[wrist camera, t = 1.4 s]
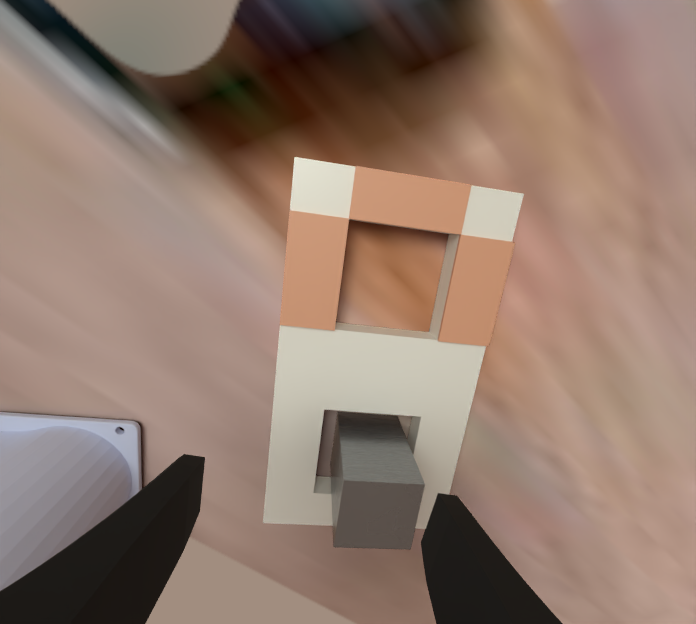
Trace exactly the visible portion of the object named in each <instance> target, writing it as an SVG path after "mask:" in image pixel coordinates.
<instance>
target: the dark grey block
mask: <svg viewBox="0 0 696 624" xmlns="http://www.w3.org/2000/svg"><path fill="white" fill-rule="evenodd" d="M330 472H331V497H332V522H333V547H343V548H378V549H411V545H412V540H413V536H414V532H415V527H416V523H417V518H418V514H419V509H420V505H421V501H422V496H423V492H424V487H425V483H424V481H423V478H422V476H421V473H420V471H419V468H418V466H417V463H416V461H415V459H414V456H413V454H412V451H411V449H410V446H409V444H408V441H407V439H406V436H405V434H404V432H403V429H402V427H401V424H400V422H399V419H398V417H397V416H392V415H378V414H365V413H352V412H338V411H337V419H336V426H335V433H334V440H333V447H332V454H331V461H330Z"/></svg>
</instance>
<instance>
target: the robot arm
mask: <svg viewBox="0 0 696 624" xmlns="http://www.w3.org/2000/svg"><path fill="white" fill-rule="evenodd" d="M119 427H122V428H123V429H124V431H123V430H121V429H120V428H119ZM204 462H205V457H199V456H193V455H186V454H184V455H182V456H181V457H179V458H178V459H177V460H176V461H175V462H174V463H172V464H171V465H170V466H169V467H168V468H167V469H165V470H164V471H163V472H162V473H161V474H160V475H158V476H157V477H156V478H155V479H154V480H153V481H151V482H150V483H149V484H148V485H147V486H145V487H144V488H143V489H142V474H141V428H140V425H139V424H138V423H137V422H135V421H127V420H112V419H98V418H83V417H68V416H53V415H38V414H23V413H8V412H0V624H145V623H146V621H147V619H148V617H149V615H150V614H151V612H152V610H153V608H154V606H155V604H156V602H157V600H158V598H159V596H160V594H161V593H162V591H163V589H164V587H165V585H166V583H167V581H168V580H169V578H170V576H171V574H172V572H173V570H174V568H175V566H176V564H177V562H178V560H179V558H180V557H181V554H182V553H183V551H184V548H185V546H186V543H187V541H188V539H189V537H190V534H191V532H192V529H193V527H194V524H195V522H196V519H197V517H198V514H199V512H200V504H201V493H202V483H203V473H204ZM421 546H422V554H423V562H424V569H425V575H426V582H427V586H428V590H429V595H430V599H431V603H432V607H433V611H434V615H435V619H436V623H437V624H562V623H561V622H560V621H559V619H558V618H557V617H556V616H555V615H554V614H553V613H552V612H551V611H550V610H549V608H548V607H547V606H546V605H545V604H544V603H543V601H542V600H541V599H540V598H539V597H538V596H537V595H536V593H535V592H534V591H533V590H532V589H531V588H530V587H529V585H528V584H527V583H526V582H525V581H524V580H523V578H522V577H521V576H520V575H519V574H518V572H517V571H516V570H515V569H514V568H513V566H512V565H511V564H510V563H509V561H508V560H507V559H506V558H505V556H504V555H503V554H502V553H501V551H500V550H499V549H498V548H497V546H496V545H495V544H494V543H493V541H492V540H491V539H490V538H489V536H488V535H487V534H486V532H485V531H484V530H483V529H482V527H481V526H480V525H479V523H478V522H477V521H476V520H475V518H474V517H473V516H472V514H471V513H470V512H469V510H468V509H467V508H466V507H465V505H464V504H463V503H462V502H461V500H460V499H459V498H458V497H457V496H455V495H448V494H442V493H438V494H437V497H436V500H435V503H434V506H433V509H432V512H431V515H430V518H429V521H428V524H427V526H426V529H425V532H424V535H423V538H422V541H421Z"/></svg>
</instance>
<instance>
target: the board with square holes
mask: <svg viewBox="0 0 696 624" xmlns="http://www.w3.org/2000/svg"><path fill="white" fill-rule="evenodd" d="M523 195H524V194H522V193H515V192H509V191H503V190H497V189H491V188H484V187H478V186H472V185H471V184H464V183H458V182H452V181H446V180H440V179H433V178H427V177H421V176H415V175H409V174H402V173H396V172H390V171H384V170H378V169H371V168H365V167H359V166H356V167H354V166H348V165H341V164H335V163H329V162H323V161H317V160H310V159H304V158H298V157H295V159H294V171H293V182H292V194H291V205H290V212H289V224H288V235H287V247H286V258H285V270H284V281H283V293H282V305H281V316H280V332H279V343H278V355H277V366H276V378H275V389H274V401H273V412H272V424H271V435H270V447H269V458H268V470H267V481H266V493H265V504H264V516H263V523H271V524H299V525H328V526H333V522H332V497H331V477H325V476H316V469H317V462H318V454H319V446H320V438H321V431H322V423H323V415H324V409H325V410H339V411H352V412H365V413H378V414H392V415H405V416H412V419H411V424H410V429H409V434H408V439H407V441H408V444H409V446H410V449H411V451H412V454H413V456H414V459H415V461H416V463H417V466H418V468H419V471H420V473H421V476H422V478H423V481H424V483H425V487H424V492H423V496H422V501H421V505H420V509H419V514H418V518H417V523H416V527H415V529H426V526H427V524H428V521H429V518H430V515H431V512H432V509H433V506H434V503H435V500H436V497H437V494H438V493H442V494H448V495H449V493H450V489H451V485H452V481H453V477H454V473H455V469H456V465H457V461H458V457H459V453H460V449H461V445H462V441H463V436H464V432H465V428H466V424H467V420H468V416H469V412H470V408H471V404H472V400H473V396H474V392H475V388H476V384H477V380H478V376H479V372H480V368H481V364H482V360H483V356H484V352H485V348H486V346H488V345H490V342H491V338H492V334H493V330H494V326H495V322H496V318H497V314H498V310H499V306H500V302H501V298H502V294H503V290H504V286H505V282H506V278H507V274H508V270H509V266H510V262H511V258H512V254H513V250H514V246H515V242H512V239H513V235H514V231H515V227H516V223H517V219H518V215H519V211H520V207H521V203H522V199H523ZM349 220H353V221H360V222H367V223H374V224H382V225H389V226H396V227H403V228H410V229H417V230H424V231H431V232H438V233H445V234H449V236H448V241H447V246H446V251H445V256H444V261H443V266H442V271H441V275H440V280H439V285H438V290H437V295H436V300H435V305H434V310H433V315H432V320H431V325H430V330H429V332H423V331H413V330H404V329H394V328H385V327H375V326H366V325H356V324H347V323H338V322H336V317H337V309H338V301H339V293H340V286H341V278H342V270H343V262H344V255H345V247H346V239H347V231H348V224H349Z"/></svg>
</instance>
